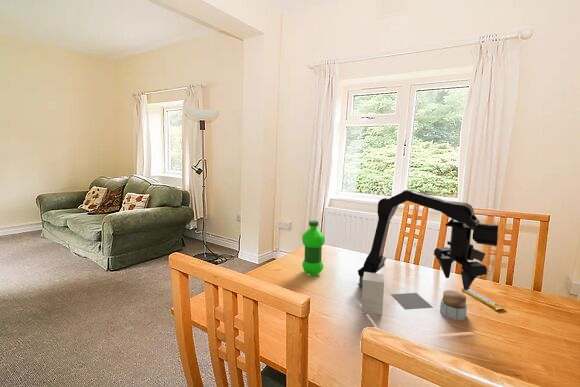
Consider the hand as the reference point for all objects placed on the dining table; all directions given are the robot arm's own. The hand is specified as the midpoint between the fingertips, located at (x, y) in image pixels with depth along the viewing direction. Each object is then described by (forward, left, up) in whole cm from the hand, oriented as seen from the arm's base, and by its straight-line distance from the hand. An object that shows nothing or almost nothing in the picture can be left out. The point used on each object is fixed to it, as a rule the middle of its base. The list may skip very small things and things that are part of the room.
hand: (456, 283), depth 100 cm
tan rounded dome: (0, 0, -7) cm, 7 cm away
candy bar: (+19, +8, -13) cm, 24 cm away
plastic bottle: (-42, +40, -12) cm, 59 cm away
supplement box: (-27, +7, -12) cm, 30 cm away
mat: (-10, +10, -12) cm, 18 cm away
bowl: (0, 0, -12) cm, 12 cm away
